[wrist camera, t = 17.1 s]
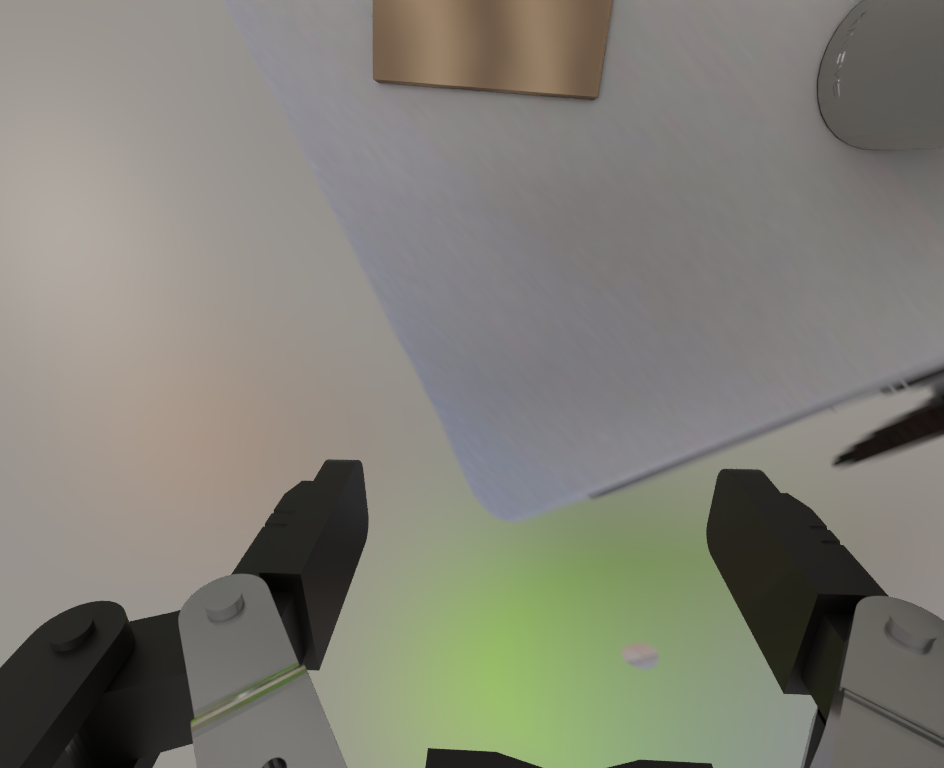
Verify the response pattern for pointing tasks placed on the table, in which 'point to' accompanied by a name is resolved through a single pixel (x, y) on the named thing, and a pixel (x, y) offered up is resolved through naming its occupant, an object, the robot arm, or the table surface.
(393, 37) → the collar board
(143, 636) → the robot arm
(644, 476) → the table surface
